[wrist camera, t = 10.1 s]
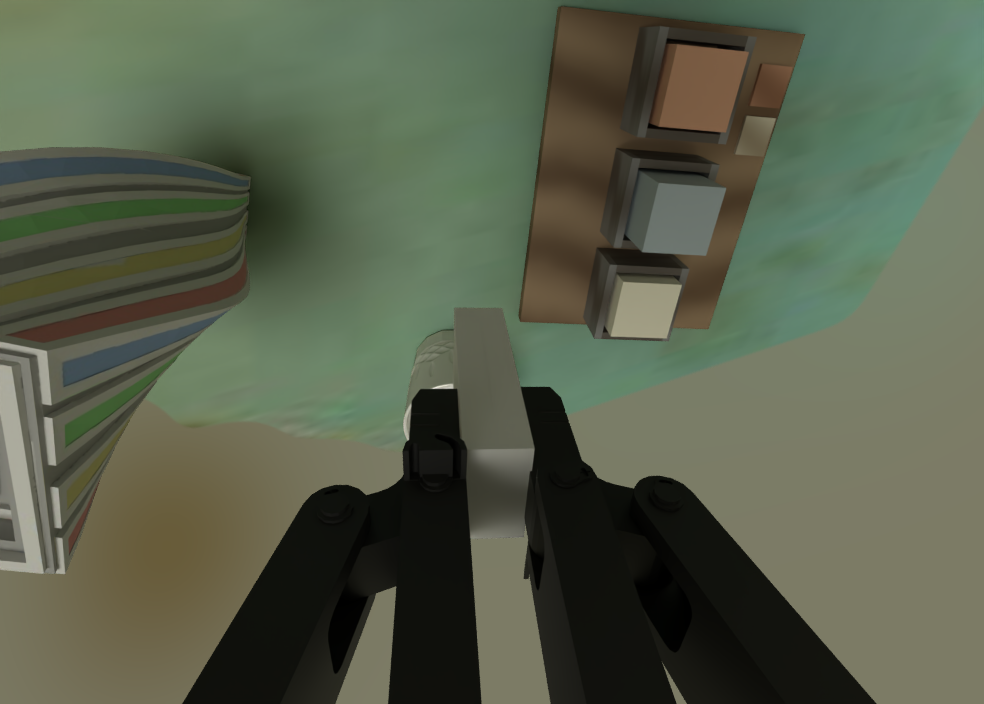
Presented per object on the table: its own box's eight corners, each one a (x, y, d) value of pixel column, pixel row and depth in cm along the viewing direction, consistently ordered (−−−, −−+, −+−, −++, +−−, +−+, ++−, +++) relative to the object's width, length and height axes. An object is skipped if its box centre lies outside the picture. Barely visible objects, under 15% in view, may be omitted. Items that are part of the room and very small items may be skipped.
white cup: (506, 342, 51) (520, 404, 42) (469, 404, 54) (475, 474, 45) (429, 310, 48) (428, 369, 40) (395, 377, 51) (387, 445, 43)
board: (557, 7, 37) (574, 2, 33) (795, 34, 40) (841, 33, 35) (518, 315, 49) (526, 343, 45) (702, 323, 51) (728, 350, 47)
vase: (315, 135, 40) (101, 311, 14) (295, 295, 46) (119, 620, 20) (115, 78, 37) (-617, 170, 11) (121, 258, 43) (-340, 582, 17)
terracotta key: (649, 43, 38) (677, 44, 33) (713, 50, 38) (749, 52, 34) (634, 117, 40) (658, 126, 36) (695, 122, 41) (725, 132, 36)
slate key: (634, 167, 40) (658, 182, 35) (695, 172, 40) (726, 188, 36) (621, 230, 42) (642, 252, 38) (678, 234, 43) (705, 255, 38)
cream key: (605, 259, 46) (623, 281, 41) (658, 261, 46) (682, 284, 42) (595, 309, 48) (610, 336, 44) (646, 311, 49) (666, 338, 44)
